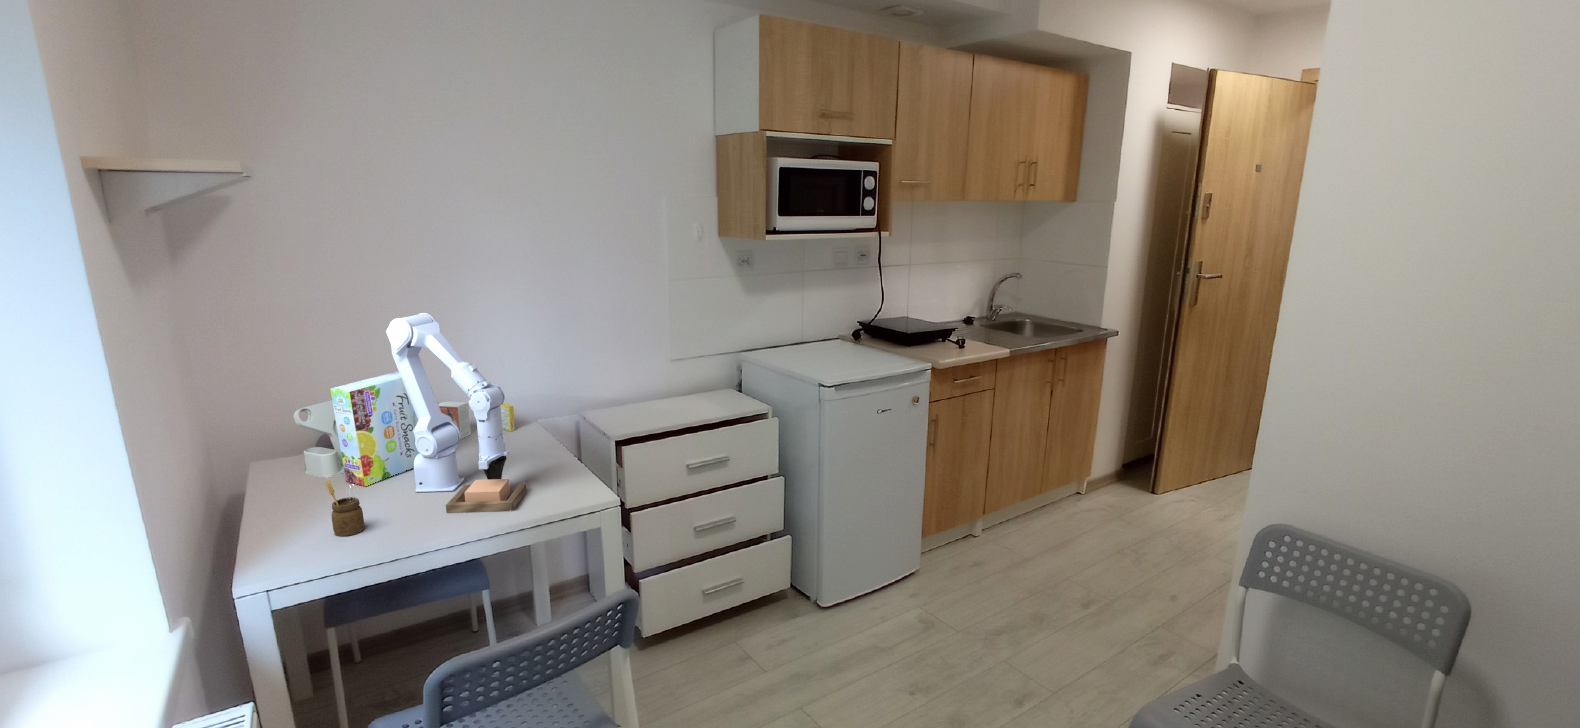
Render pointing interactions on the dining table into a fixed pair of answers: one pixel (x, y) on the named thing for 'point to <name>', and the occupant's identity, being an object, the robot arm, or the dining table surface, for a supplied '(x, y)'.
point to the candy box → (507, 417)
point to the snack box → (375, 428)
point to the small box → (457, 415)
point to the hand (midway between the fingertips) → (495, 486)
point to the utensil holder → (346, 514)
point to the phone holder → (319, 458)
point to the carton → (488, 490)
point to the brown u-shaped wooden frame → (484, 502)
